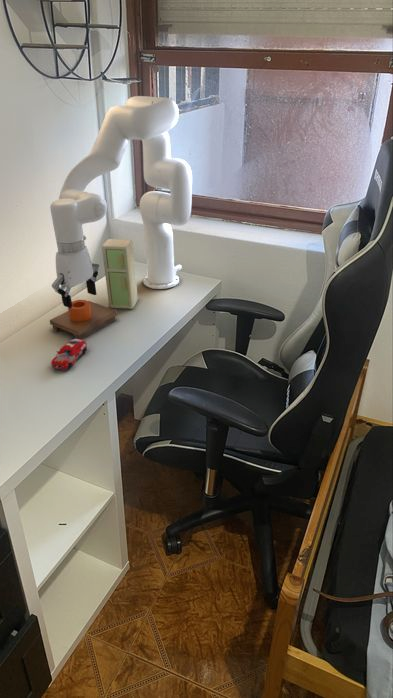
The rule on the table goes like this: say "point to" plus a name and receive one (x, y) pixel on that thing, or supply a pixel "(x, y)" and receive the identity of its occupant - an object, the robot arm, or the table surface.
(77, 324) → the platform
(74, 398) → the table surface
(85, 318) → the ring
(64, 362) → the race car
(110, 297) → the toy refrigerator
